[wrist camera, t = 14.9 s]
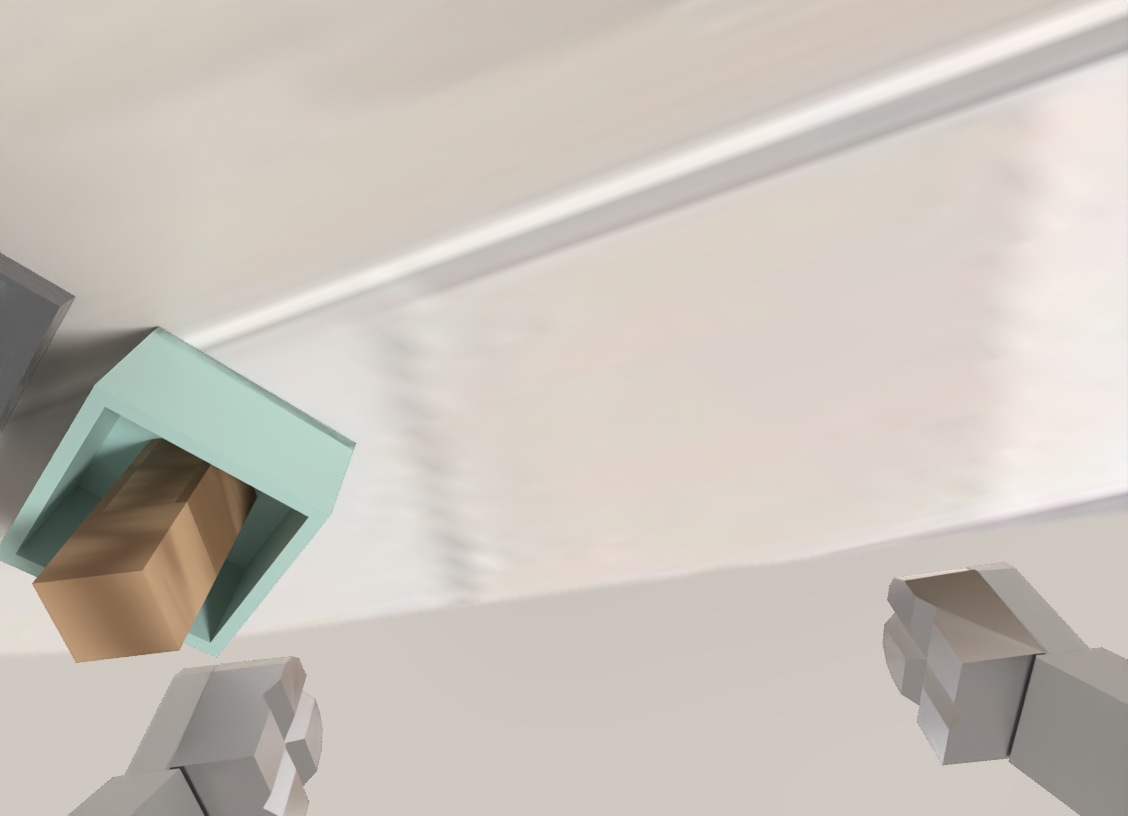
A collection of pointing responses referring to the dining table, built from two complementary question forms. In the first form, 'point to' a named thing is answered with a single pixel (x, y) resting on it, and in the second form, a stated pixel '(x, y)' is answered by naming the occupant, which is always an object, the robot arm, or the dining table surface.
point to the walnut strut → (145, 556)
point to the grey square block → (25, 327)
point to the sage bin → (211, 432)
